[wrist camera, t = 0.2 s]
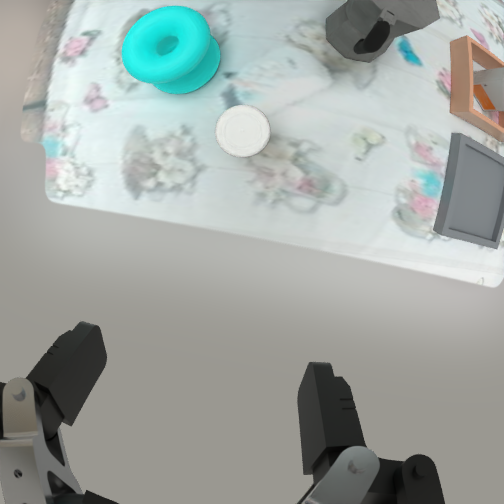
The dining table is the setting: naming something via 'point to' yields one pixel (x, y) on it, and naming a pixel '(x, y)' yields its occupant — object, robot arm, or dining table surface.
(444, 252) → the dining table surface
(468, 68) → the orange square frame
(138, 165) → the dining table surface
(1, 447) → the robot arm
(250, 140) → the sprinkles bottle
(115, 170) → the dining table surface
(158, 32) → the donuts
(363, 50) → the coffeepot
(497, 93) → the skincare box
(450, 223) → the grey tray
